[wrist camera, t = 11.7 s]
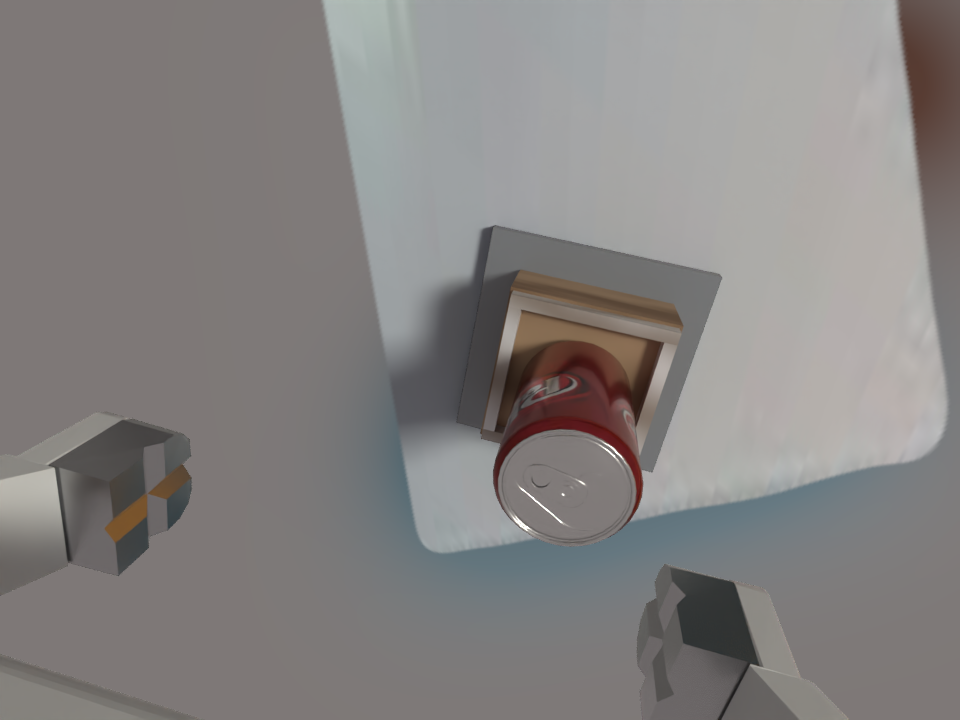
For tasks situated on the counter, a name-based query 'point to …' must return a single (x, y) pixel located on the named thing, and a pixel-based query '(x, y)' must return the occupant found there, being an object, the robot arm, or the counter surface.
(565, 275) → the plate
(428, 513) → the counter surface
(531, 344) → the wooden tray
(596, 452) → the soda can
